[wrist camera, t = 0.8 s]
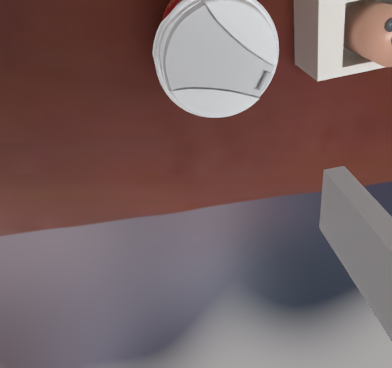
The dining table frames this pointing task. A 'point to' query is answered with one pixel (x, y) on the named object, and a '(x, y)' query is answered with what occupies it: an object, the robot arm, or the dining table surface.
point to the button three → (369, 31)
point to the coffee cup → (215, 55)
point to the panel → (325, 40)
